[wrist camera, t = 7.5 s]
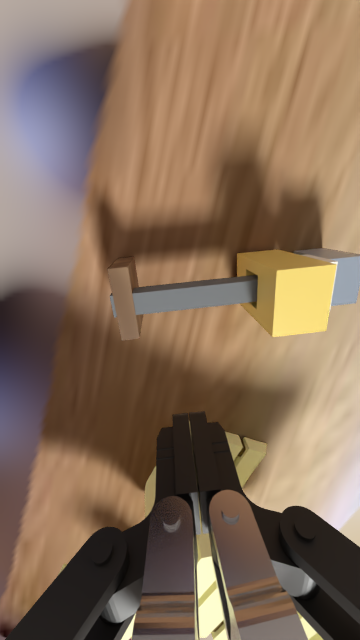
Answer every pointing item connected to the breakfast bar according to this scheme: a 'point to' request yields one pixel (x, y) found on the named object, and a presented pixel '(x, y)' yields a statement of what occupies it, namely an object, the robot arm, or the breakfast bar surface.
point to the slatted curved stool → (210, 610)
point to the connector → (341, 273)
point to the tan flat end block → (125, 297)
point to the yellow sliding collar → (288, 291)
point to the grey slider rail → (193, 294)
